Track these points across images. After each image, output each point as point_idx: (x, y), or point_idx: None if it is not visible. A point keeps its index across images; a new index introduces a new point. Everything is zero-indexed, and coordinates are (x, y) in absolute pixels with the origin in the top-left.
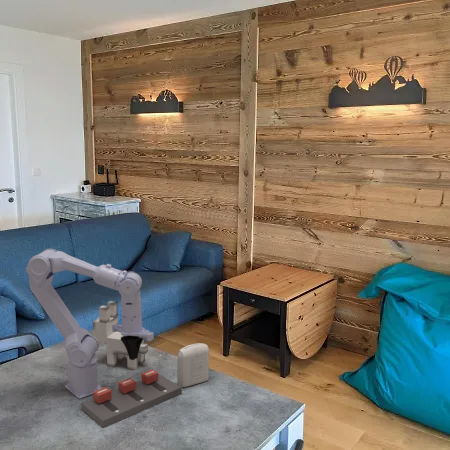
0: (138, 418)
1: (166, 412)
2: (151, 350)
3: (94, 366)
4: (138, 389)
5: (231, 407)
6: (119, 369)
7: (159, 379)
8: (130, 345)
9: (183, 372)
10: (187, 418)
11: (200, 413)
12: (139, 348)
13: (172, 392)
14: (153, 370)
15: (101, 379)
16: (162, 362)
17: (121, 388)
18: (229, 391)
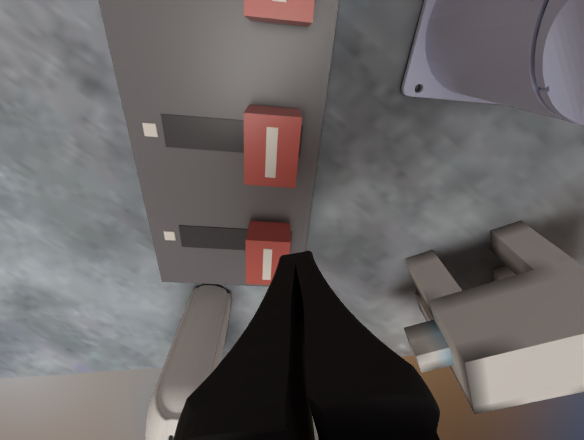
0: (88, 52)
1: (80, 165)
2: None
3: (517, 51)
4: None
5: (21, 301)
6: (459, 233)
7: None
8: (261, 350)
9: (177, 331)
10: (6, 189)
11: (23, 234)
12: (435, 340)
13: (156, 247)
14: None
15: (474, 144)
16: None
17: (271, 110)
18: (107, 339)
